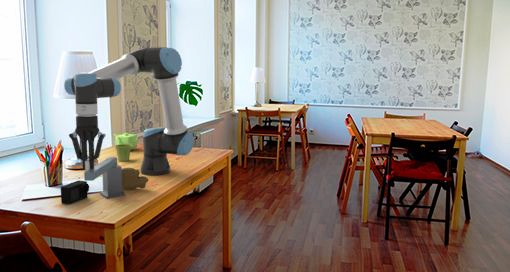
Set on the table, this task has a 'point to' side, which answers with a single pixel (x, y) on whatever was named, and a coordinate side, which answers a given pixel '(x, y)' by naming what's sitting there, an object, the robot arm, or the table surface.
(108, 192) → the pivot post
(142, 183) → the wooden carving
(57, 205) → the table surface
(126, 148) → the plant pot
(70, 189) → the digital camera
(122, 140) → the kettle
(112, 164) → the swing arm
